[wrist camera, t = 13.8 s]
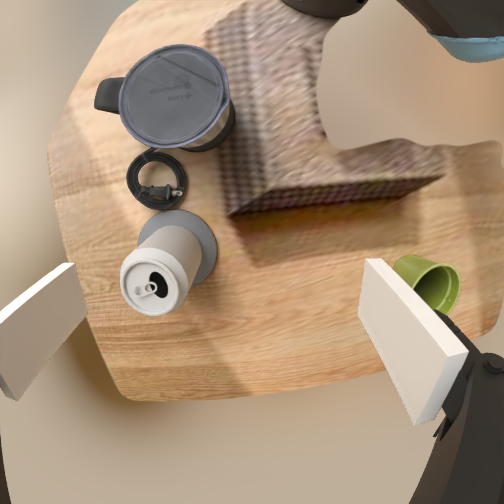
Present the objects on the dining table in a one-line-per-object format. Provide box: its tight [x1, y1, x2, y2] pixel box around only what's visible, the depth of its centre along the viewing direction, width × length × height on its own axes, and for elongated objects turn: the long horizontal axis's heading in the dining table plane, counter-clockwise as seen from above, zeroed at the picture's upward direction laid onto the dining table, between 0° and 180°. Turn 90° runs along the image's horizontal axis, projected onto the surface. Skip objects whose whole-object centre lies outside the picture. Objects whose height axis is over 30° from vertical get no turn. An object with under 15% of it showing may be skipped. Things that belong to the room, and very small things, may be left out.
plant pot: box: [393, 255, 461, 315], centre depth 36 cm, size 9×9×9 cm
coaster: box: [138, 209, 217, 287], centre depth 39 cm, size 11×11×1 cm
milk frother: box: [94, 44, 235, 210], centre depth 28 cm, size 14×16×15 cm
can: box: [120, 225, 202, 316], centre depth 33 cm, size 8×8×12 cm
